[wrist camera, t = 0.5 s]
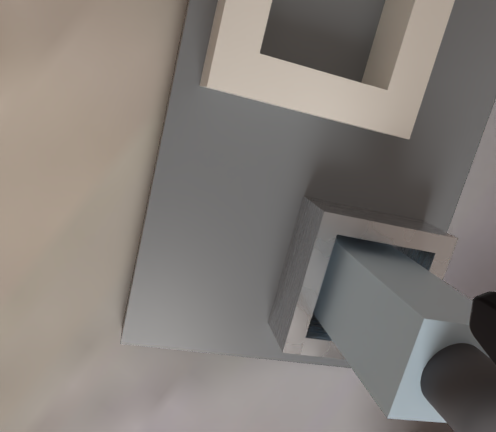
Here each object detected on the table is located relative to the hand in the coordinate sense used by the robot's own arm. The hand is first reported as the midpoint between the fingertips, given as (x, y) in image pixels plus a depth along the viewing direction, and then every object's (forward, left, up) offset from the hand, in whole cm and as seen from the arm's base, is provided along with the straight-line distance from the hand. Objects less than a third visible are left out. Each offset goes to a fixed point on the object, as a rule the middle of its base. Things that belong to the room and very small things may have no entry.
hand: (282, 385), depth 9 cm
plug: (-7, +1, -11) cm, 13 cm away
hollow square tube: (-7, +1, -11) cm, 13 cm away
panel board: (-4, -5, -12) cm, 14 cm away
